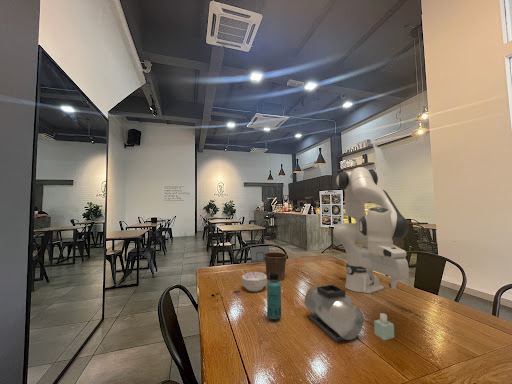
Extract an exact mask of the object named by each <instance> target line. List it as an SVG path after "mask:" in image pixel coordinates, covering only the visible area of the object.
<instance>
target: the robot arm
mask: <svg viewBox="0 0 512 384" xmlns="http://www.w3.org/2000/svg"><path fill="white" fill-rule="evenodd" d="M335 180H336V186H337V187H338V189H340V190H345V191H344V193H345V194H344V212H345V215H347V216H349V217H350V218H352V219H354V220H355V223H353V222H343V223H342V222H341V223H338V224H336V225H335V226H334V227H333V231H332V232H333V236H334V238H335V239H336V240H337V241H339V242H340V243H341V244H342V246H343V247H344V250H345V255H346V263H345V266H346V267H345V269H346V277H345V278H346V279H345V283H344V287H345V288H346V289H347V290H349V291H353V292H356V293H365V294H372V293H375V292H379V291H382V290H384V289H385V287H384V286H383V285H382V284H380V280H379V277H378V276H376V275H375V274H374V273H373V272H376V273H377V274H378V273H379V274H382V275H385V276H388V277H390V279H391V280H392V281H391V282H389V283H388V287H389V288H390V289H391V290H396V289H397V284H398V282H399V281H402V280H407V279H408V278H409V277H410V269H409V263H408V260H407V258H406V257H407V255H408V254H407V251H406V250H405V249H402V248H400V247H399V246H397V245H395V244H394V240H393V239H398V240H402V238H404V237H405V236H406V235H407V234H408V233H409V230H410V229H409V228H410V227H409V223H408V221H407V219H406V217H405V216H403V214H402V213H401V212H400V210H398V207H397V205H396V204H395V202H394V201H393V200H392V198H391V197H390V195H389V194H388V192H387V191H386V190H385V189H382V188H381V187H380V186H378V183H379V176H378V173H377V172H376V171H374V170H370V169H367V168H366V167H363V166H359V167H355V168H354V169H353V170H349V171H341V172H339V173H338V174H337V176H336V179H335ZM365 202H367V203H371V204H372V203H373V204H375V205H378V206H380V207H378V206H377V207H376V206H375V207H371V208H368V209H367V213H366V207H365ZM356 242H367V245H366V244H363V245H361V246H358V245H356Z"/></svg>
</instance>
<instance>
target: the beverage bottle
mask: <svg viewBox="0 0 512 384" xmlns="http://www.w3.org/2000/svg"><path fill="white" fill-rule="evenodd" d="M269 279H271V280H269ZM269 279H268V280H269V281H267V285H266V289H267V290H266V291H267V292H266V297H267V298H266V304H267V305H266V311H267V312H266V315H267V318H268V319H270V320H278V319H280V318H281V317H282V289H281V288H282V284H281V282H280V281H278V280H277V279H279V277H278V274H277V273H270V277H269Z"/></svg>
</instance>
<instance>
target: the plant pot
mask: <svg viewBox="0 0 512 384" xmlns="http://www.w3.org/2000/svg"><path fill="white" fill-rule="evenodd" d="M263 256H264V262H265V270H266V271H265V273H266V274H265V275H266V276H267V280H269V281H270V280H271V279H269V277H270V273H277V274H278V277H279V279H277V281H279V282H280V281H283V280H284V279H285V275H286V274H285V271H286V262H287V257H288V254H287V253H284V252H277V251H274V252H273V251H272V252H266V253H263Z"/></svg>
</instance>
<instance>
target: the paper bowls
mask: <svg viewBox="0 0 512 384" xmlns="http://www.w3.org/2000/svg"><path fill="white" fill-rule="evenodd" d="M267 283H268V279H267V274H265V273H264V272H260V271H251V272H246V273H244V274H242V275H241V285H242V287H244V288H245V289H246V290H247V291H248V292H259V291H262V290H263V289H264V287H267Z"/></svg>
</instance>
